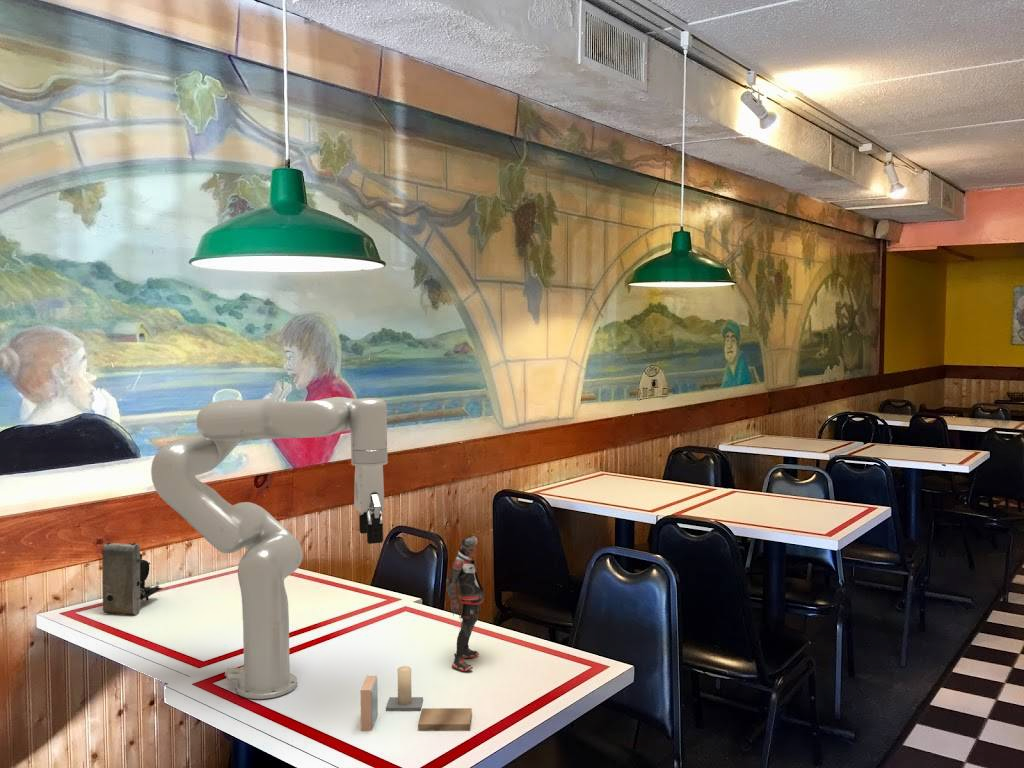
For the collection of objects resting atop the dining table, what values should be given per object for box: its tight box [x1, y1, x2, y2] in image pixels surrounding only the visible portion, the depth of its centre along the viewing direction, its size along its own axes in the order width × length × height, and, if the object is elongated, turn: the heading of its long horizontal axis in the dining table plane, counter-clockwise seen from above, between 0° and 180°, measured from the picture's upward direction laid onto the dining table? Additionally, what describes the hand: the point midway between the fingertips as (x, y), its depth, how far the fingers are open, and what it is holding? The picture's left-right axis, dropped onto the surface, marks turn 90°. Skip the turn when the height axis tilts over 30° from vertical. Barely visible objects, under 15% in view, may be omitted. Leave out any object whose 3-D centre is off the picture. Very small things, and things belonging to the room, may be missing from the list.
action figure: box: [445, 535, 486, 672], centre depth 194 cm, size 10×11×30 cm
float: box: [385, 665, 424, 712], centre depth 172 cm, size 7×5×8 cm
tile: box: [360, 675, 379, 732], centre depth 164 cm, size 2×7×8 cm, turn 0°
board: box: [417, 707, 473, 731], centre depth 165 cm, size 10×7×1 cm
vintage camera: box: [101, 541, 163, 616], centre depth 236 cm, size 10×16×20 cm, turn 172°
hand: (371, 537), depth 176 cm, fingers open, 9 cm apart
